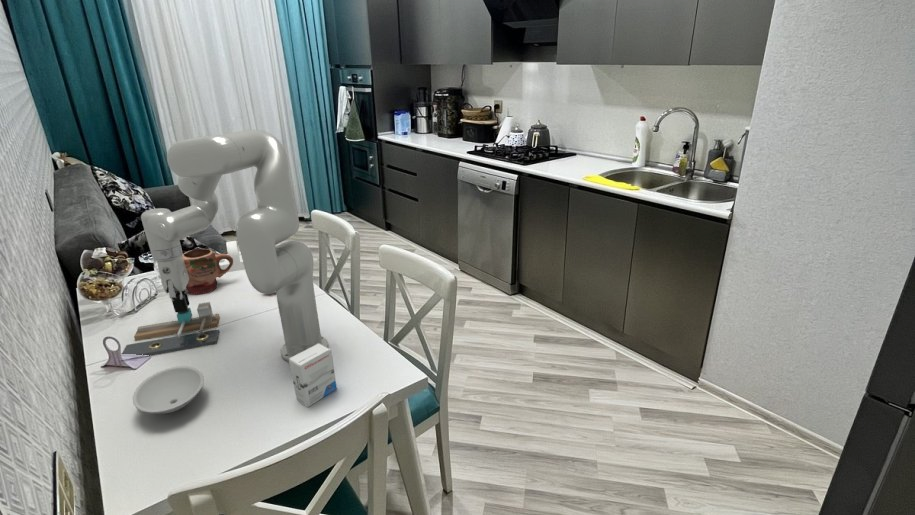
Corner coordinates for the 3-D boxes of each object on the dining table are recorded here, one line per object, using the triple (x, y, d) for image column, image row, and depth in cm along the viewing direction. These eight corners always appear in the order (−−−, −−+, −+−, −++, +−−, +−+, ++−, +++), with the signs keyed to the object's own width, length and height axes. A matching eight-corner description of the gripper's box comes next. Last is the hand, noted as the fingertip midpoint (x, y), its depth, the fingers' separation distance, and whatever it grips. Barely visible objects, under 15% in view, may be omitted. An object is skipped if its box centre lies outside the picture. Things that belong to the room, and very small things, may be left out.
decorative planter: (235, 275, 179) (228, 241, 174) (239, 287, 169) (232, 251, 164) (176, 288, 170) (166, 252, 165) (176, 301, 160) (166, 264, 155)
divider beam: (214, 339, 137) (209, 319, 135) (127, 354, 131) (121, 334, 128) (220, 317, 149) (215, 299, 146) (140, 330, 142) (134, 312, 140)
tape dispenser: (261, 267, 187) (256, 241, 183) (211, 275, 180) (205, 249, 176) (259, 259, 195) (255, 234, 191) (212, 267, 188) (206, 241, 184)
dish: (138, 395, 114) (132, 378, 112) (204, 375, 121) (199, 358, 119) (138, 440, 100) (131, 421, 98) (212, 414, 107) (207, 396, 105)
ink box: (325, 381, 117) (319, 341, 113) (337, 389, 114) (331, 348, 110) (295, 399, 111) (287, 357, 106) (307, 408, 108) (299, 365, 104)
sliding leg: (185, 338, 134) (177, 311, 131) (173, 340, 133) (165, 313, 130) (193, 318, 145) (186, 292, 142) (182, 320, 144) (175, 294, 141)
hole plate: (216, 343, 134) (215, 340, 134) (120, 361, 128) (118, 357, 127) (219, 331, 141) (218, 328, 140) (127, 347, 134) (126, 344, 133)
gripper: (175, 260, 128) (191, 319, 135) (186, 241, 142) (200, 295, 149) (144, 264, 126) (162, 323, 133) (159, 244, 140) (174, 299, 147)
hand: (182, 308), depth 141 cm, fingers closed on sliding leg, 2 cm apart
